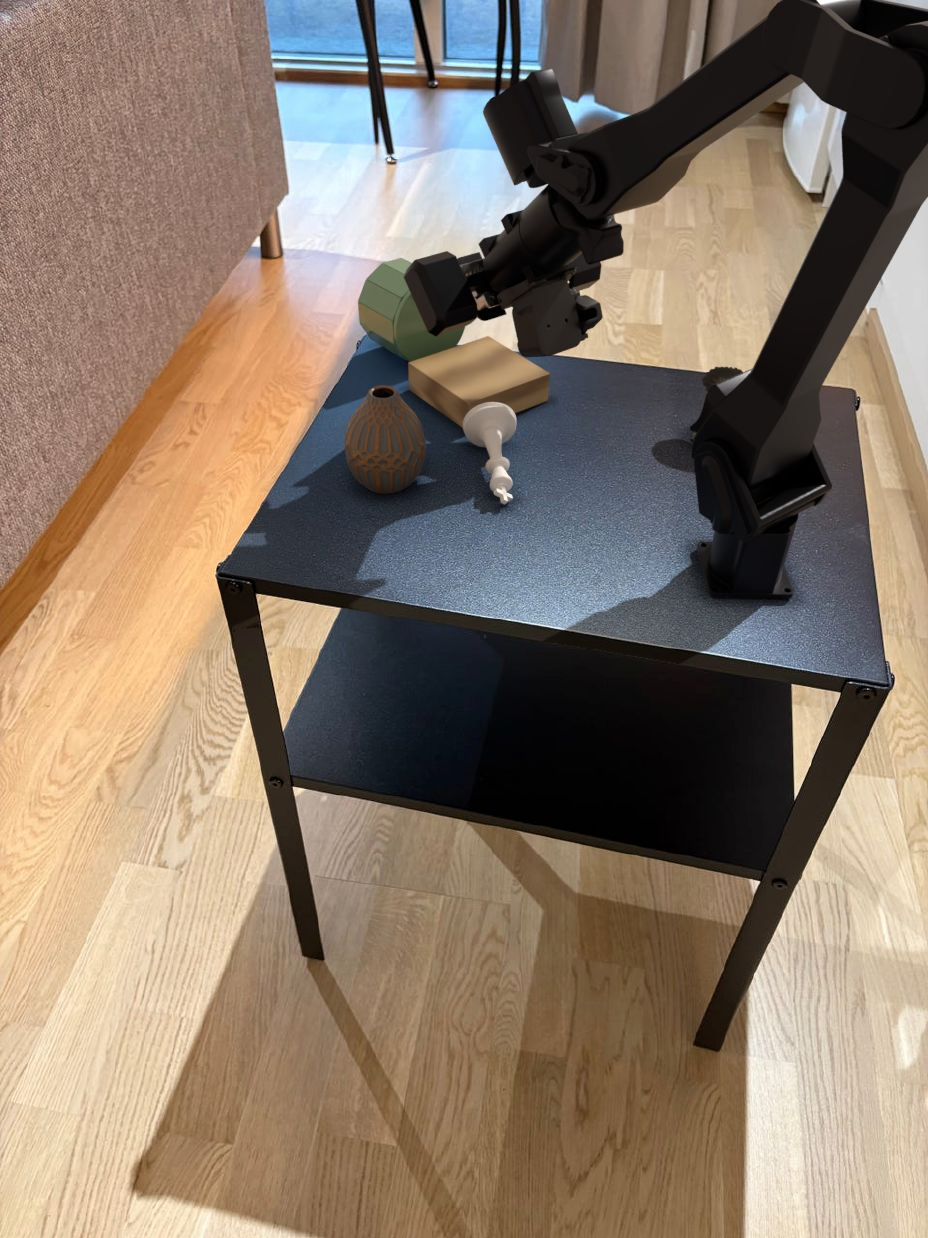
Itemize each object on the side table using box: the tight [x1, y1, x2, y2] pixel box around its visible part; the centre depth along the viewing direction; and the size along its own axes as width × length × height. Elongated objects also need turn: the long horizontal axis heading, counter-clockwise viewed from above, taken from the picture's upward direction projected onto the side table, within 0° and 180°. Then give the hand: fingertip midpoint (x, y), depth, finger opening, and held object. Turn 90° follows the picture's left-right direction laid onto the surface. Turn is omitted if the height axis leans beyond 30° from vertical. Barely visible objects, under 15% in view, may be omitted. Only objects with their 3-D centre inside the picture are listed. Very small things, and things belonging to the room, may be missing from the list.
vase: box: [344, 384, 427, 495], centre depth 85 cm, size 7×7×9 cm
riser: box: [407, 335, 551, 429], centre depth 99 cm, size 10×10×3 cm
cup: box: [357, 257, 466, 362], centre depth 103 cm, size 9×9×7 cm
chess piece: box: [462, 402, 517, 505], centre depth 88 cm, size 5×5×10 cm
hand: (465, 312), depth 96 cm, fingers closed
